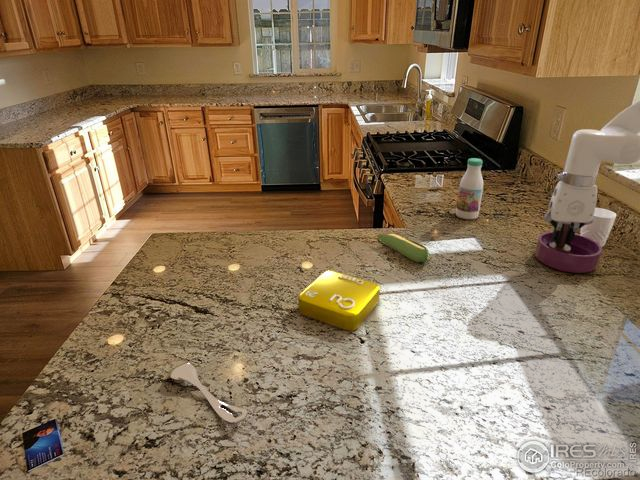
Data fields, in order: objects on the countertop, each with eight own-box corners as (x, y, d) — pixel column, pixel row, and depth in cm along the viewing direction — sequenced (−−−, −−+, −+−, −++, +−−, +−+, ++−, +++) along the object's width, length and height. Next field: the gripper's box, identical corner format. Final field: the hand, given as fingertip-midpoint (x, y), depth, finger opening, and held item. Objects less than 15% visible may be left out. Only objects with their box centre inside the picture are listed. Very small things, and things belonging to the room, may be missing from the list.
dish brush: (564, 252, 122) (573, 219, 118) (571, 261, 117) (580, 227, 113) (544, 250, 123) (552, 218, 118) (550, 259, 118) (559, 226, 114)
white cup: (580, 247, 126) (590, 216, 122) (573, 236, 133) (581, 206, 129) (610, 250, 125) (620, 218, 120) (601, 238, 131) (610, 208, 127)
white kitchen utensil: (253, 400, 69) (231, 418, 66) (256, 416, 71) (234, 434, 67) (183, 353, 81) (161, 366, 78) (187, 368, 83) (165, 381, 79)
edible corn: (421, 268, 116) (422, 253, 114) (372, 241, 130) (373, 228, 128) (433, 262, 118) (435, 248, 116) (384, 237, 133) (385, 224, 131)
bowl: (583, 249, 125) (588, 233, 122) (606, 276, 111) (612, 258, 109) (527, 246, 127) (531, 229, 124) (544, 272, 113) (549, 254, 111)
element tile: (381, 299, 102) (383, 282, 100) (354, 333, 90) (354, 315, 88) (327, 283, 109) (327, 266, 107) (295, 312, 97) (294, 295, 95)
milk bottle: (458, 209, 153) (466, 155, 145) (480, 214, 150) (490, 158, 141) (452, 217, 147) (460, 160, 139) (475, 221, 144) (485, 164, 135)
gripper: (550, 182, 108) (534, 246, 116) (618, 184, 106) (598, 250, 114) (541, 173, 115) (527, 235, 123) (605, 175, 112) (586, 238, 120)
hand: (561, 242), depth 118 cm, fingers closed on dish brush
